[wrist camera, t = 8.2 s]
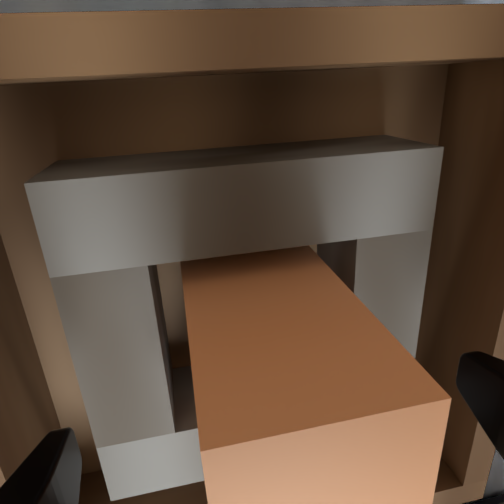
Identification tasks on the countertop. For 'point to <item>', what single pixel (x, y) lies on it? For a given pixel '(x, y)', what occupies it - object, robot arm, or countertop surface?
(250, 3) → the countertop surface
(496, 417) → the robot arm
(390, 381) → the block
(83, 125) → the tray
